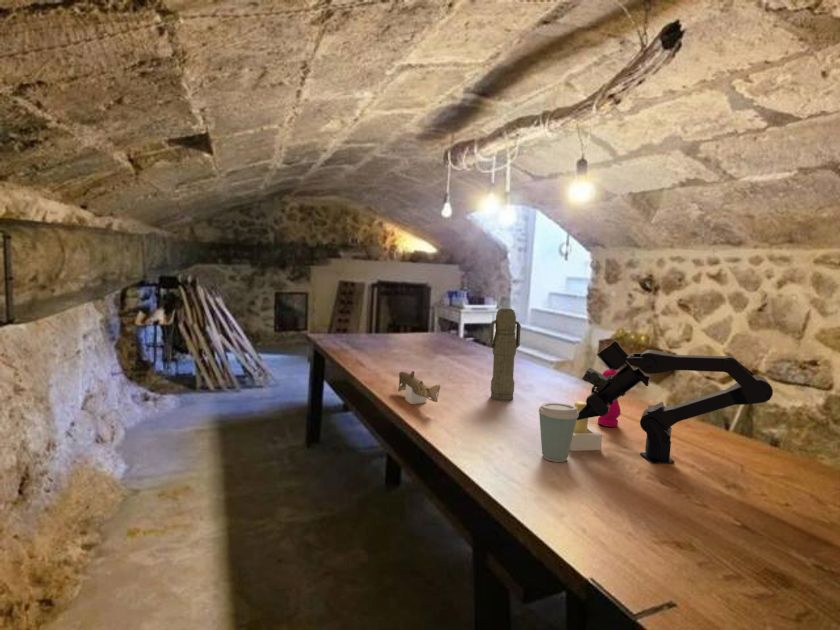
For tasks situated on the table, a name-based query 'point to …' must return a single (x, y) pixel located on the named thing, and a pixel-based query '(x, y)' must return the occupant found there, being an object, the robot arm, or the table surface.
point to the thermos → (504, 353)
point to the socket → (586, 440)
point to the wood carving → (416, 389)
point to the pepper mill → (614, 408)
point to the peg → (583, 423)
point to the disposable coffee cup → (557, 430)
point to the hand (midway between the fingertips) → (578, 414)
